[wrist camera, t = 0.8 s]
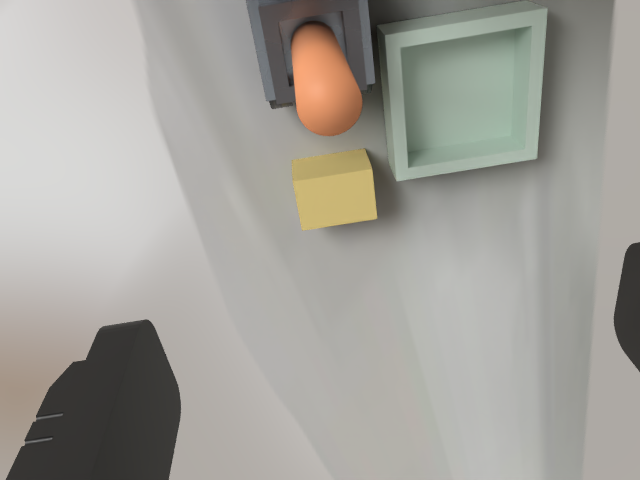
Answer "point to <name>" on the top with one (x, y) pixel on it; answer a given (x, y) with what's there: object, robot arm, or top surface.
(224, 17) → the top surface
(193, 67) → the top surface
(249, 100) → the top surface
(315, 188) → the block
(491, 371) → the top surface
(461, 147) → the tray
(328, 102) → the pin
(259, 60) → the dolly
